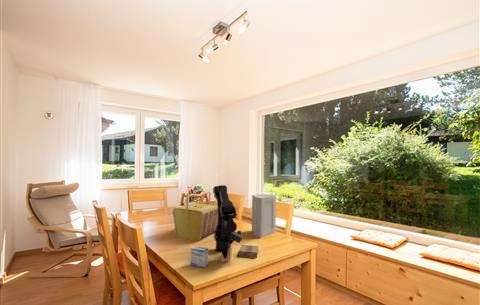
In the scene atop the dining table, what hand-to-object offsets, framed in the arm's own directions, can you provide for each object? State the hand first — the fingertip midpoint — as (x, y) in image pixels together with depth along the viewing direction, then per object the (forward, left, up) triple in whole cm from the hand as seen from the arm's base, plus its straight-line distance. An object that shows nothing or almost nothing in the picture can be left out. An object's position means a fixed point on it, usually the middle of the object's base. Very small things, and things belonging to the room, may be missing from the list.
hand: (226, 256), depth 128 cm
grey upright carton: (+14, +51, -2) cm, 53 cm away
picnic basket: (-29, +38, -2) cm, 48 cm away
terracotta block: (0, 0, -2) cm, 2 cm away
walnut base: (+11, +10, -2) cm, 15 cm away
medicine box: (-12, -10, -2) cm, 16 cm away
